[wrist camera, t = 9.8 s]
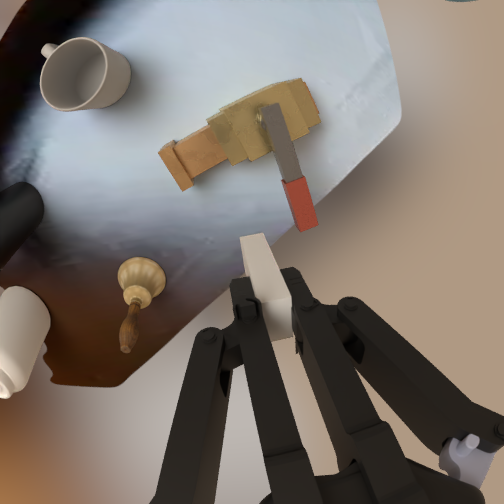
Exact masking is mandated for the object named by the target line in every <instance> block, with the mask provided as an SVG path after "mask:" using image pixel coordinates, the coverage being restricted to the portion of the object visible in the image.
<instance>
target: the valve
mask: <svg viewBox="0 0 504 504" xmlns="http://www.w3.org/2000/svg"><path fill="white" fill-rule="evenodd" d="M272 103H279V105H280V108H281V111H282V114H283V116H284V119H285V122H286V125H287V128H288V131H289V134H290V137H291V140H292V141H293V140H295V139H298V138H300V137H302V136H304V135H306V134H308V133H310V132H309V129H308V128H310V127H312V126H314V125H316V124H319V123H321V120H320V118H319V116H318V114H319V111H318V109H317V107H316V105H315V102H314V100H313V98H312V96H311V94H310V91H309V89H308V87H307V85H306V83H305V82H303V81H302V79H301V78H298V79H293V80H288V81H284V82H279V83H275V84H271V85H268V86H266V87H264V88H262V89H260V90H257V91H255V92H253V93H251V94H249V95H247V96H245V97H242V98H240V99H238V100H236V101H234V102H232V103H230V104H228V105H226V106H224V107H222V108H221V109H219V110H220V112H219V113H217V114H215V115H213V116H211V117H210V118H208V119H206V120H207V122H208V125H207V126H205V127H203V128H201V129H199V130H198V131H196V132H194V133H192V134H191V135H189V136H187V137H185V138H184V139H182V140H180V141H179V142H177V143H175V142H174V140H172V141H171V142H169V143H167V144H166V145H164V146H163V147H162V148H161V150H160V151H159V152H158V154H159V155H160V157H161V158H162V160H163V162H164V163H165V165H166V166H167V168H168V170H169V171H170V173H171V174H172V176H173V178H174V179H175V181H176V182H177V184H178V185H179V187H180V189H181V190H182V192H183V191H185V190H186V189H188V188H190V187H191V186H193V185H194V177H195V176H197V175H199V174H200V173H202V172H204V171H206V170H207V169H209V168H211V167H213V166H215V165H216V164H218V163H220V162H222V161H224V160H226V159H227V158H228V160H229V161H230V163H231V165H232V166H234V165H236V164H237V163H239V162H241V161H243V160H245V159H247V158H248V159H249V160H250V161H251V162H252V161H254V160H255V159H257V158H259V157H261V156H263V155H265V154H267V153H269V152H271V151H273V149H272V146H271V143H270V140H269V138H268V135H267V132H266V130H263V129H262V128H261V127H260V126H259V124H258V118H259V116H260V113H259V110H258V108H260V107H263V106H266V105H269V104H272Z"/></svg>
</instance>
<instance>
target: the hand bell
mask: <svg viewBox="0 0 504 504" xmlns="http://www.w3.org/2000/svg"><path fill="white" fill-rule="evenodd" d="M118 281H119V284H120V286H121V287H122V289H123V290H124V299H125V301H126V303H127V304H128V305H129V311H128V315H127V317H126V318H125V320H124V321H123V323H122V325H121V328H120V332H119V339H120V344H121V350H122V351H123V352H125V353H129V352H130V350H131V348H132V347H133V346H134V344H135V343H136V341H137V338H138V333H139V323H138V315H139V311H140V309H141V308H145V307H147V306H148V305H149V304H150V302H151V300H152V298H153V297H155V296H157V295H158V294H160V293H161V292H162V290H163V289H164V287H165V284H166V277H165V273H164V271H163V269H162V268H161V267H160V266H159V265H158V264H157V263H156V262H154V261H153V260H151V259H148V258H144V257H134V258H130V259H128V260H126V261H125V262H124V263H123V264H122V265H121V266H120V268H119V271H118Z"/></svg>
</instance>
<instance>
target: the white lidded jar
mask: <svg viewBox="0 0 504 504" xmlns="http://www.w3.org/2000/svg"><path fill="white" fill-rule="evenodd" d="M49 328H50V315H49V312H48V309H47V308H46V306H45V304H44V303H43V302H42V300H41V299H40V298H39V297H38V296H37V295H36V294H34V293H33V292H32V291H30V290H28V289H26V288H24V287H19V286H13V287H9V288H7V289H6V290H5V291H4V292H3V294H2V295H1V297H0V398H9V397H10V396H11V395H12V393H13V392H18V391H20V390H22V389H23V388H24V387H25V386H26V384H27V382H28V380H29V377H30V374H31V371H32V368H33V366H34V363H35V361H36V359H37V356H38V354H39V351H40V349H41V346H42V344H43V342H44V340H45V337H46V335H47V333H48V331H49Z"/></svg>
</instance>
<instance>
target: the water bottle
mask: <svg viewBox="0 0 504 504" xmlns="http://www.w3.org/2000/svg"><path fill="white" fill-rule="evenodd" d="M43 215H44V205H43V201H42V198H41V196H40V194H39V192H38V191H37V190H36V188H35V187H33V186H32V185H31V184H29V183H26V182H18V183H16V184H14V185H12V186H10V187H8V188H7V189H5V190H3V191H1V192H0V271H1V270H2V268H3V267H4V266H5V265H6V263H7V262H8V261H9V260H10V258H11V257H12V256H13V255H14V253H15V252H16V251H17V250H18V249H19V247H20V246H21V245H22V244H23V243H24V241H25V240H26V239H27V238H28V237H29V236H30V235H31V234H32V232H33V231H34V230H35V229H36V228H37V227H38V226H39V225H40V223H41V221H42V219H43Z"/></svg>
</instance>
